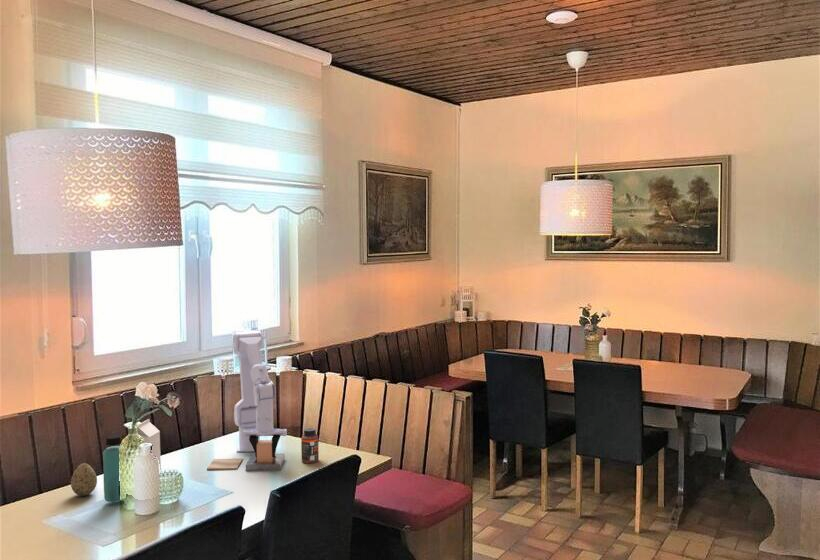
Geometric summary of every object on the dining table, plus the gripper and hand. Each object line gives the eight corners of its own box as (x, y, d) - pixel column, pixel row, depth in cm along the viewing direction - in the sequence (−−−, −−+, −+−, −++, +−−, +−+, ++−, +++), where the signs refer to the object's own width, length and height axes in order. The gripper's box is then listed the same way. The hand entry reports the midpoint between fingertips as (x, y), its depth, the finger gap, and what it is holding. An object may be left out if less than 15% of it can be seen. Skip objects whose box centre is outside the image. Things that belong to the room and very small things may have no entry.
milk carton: (161, 475, 221) (159, 418, 220) (150, 483, 214) (149, 424, 213) (140, 475, 222) (138, 418, 221) (129, 482, 215) (127, 424, 214)
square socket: (251, 460, 237) (251, 454, 237) (284, 459, 237) (284, 453, 237) (245, 471, 225) (245, 465, 225) (280, 470, 226) (280, 464, 226)
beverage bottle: (119, 508, 194) (116, 440, 193) (98, 506, 196) (96, 439, 195) (132, 499, 201) (130, 433, 200) (112, 498, 202) (110, 432, 201)
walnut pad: (213, 460, 236) (213, 459, 236) (242, 460, 237) (242, 458, 237) (207, 470, 226) (206, 468, 226) (236, 469, 227) (236, 467, 227)
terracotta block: (259, 462, 234) (259, 440, 233) (274, 462, 234) (273, 439, 233) (257, 467, 229) (256, 444, 228) (271, 467, 229) (271, 444, 228)
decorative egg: (81, 490, 209) (80, 458, 208) (102, 491, 208) (101, 459, 207) (66, 499, 202) (64, 466, 201) (87, 500, 200) (86, 467, 200)
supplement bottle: (317, 463, 232) (316, 431, 231) (300, 463, 232) (299, 431, 232) (319, 458, 238) (319, 426, 237) (303, 458, 238) (302, 426, 238)
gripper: (241, 421, 226) (242, 460, 227) (284, 420, 227) (285, 459, 228) (245, 415, 233) (245, 454, 234) (287, 415, 234) (287, 453, 235)
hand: (265, 456), depth 231 cm, fingers closed on terracotta block, 5 cm apart
